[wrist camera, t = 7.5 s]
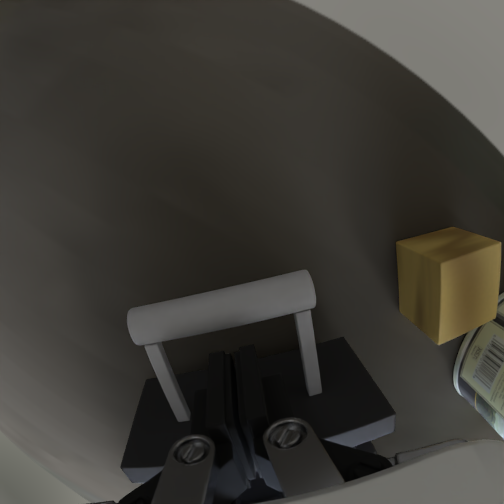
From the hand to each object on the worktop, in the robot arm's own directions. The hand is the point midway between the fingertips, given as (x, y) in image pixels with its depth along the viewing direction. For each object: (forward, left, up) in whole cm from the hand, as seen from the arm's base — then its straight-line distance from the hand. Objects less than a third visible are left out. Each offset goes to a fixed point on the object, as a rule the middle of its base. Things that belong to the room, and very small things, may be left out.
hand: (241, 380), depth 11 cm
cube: (-12, 0, -6) cm, 13 cm away
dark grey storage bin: (0, +6, -5) cm, 8 cm away
